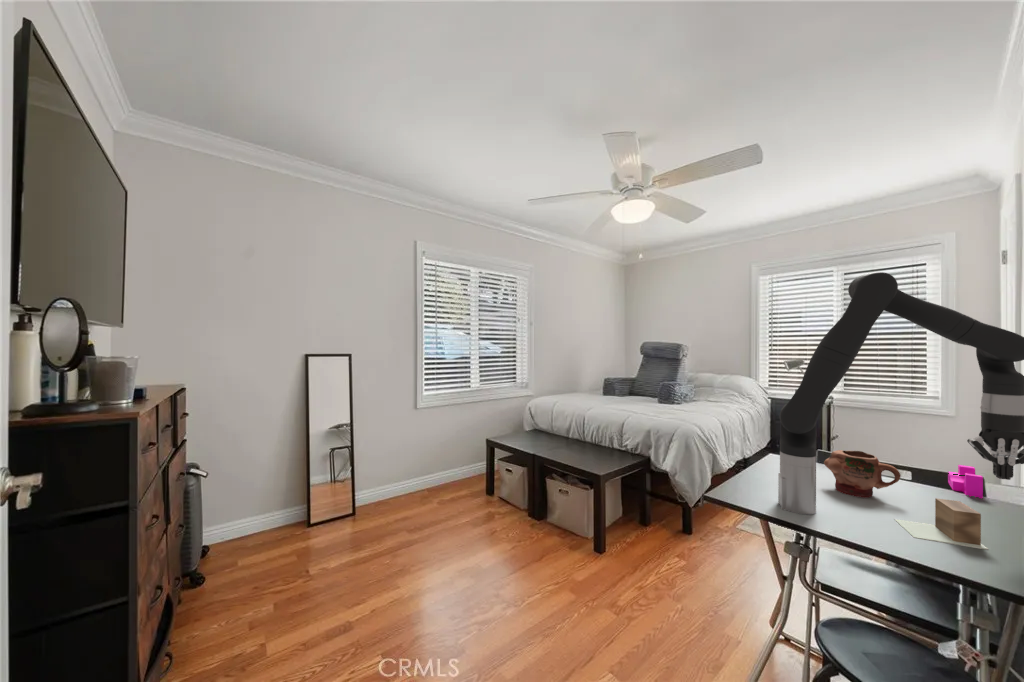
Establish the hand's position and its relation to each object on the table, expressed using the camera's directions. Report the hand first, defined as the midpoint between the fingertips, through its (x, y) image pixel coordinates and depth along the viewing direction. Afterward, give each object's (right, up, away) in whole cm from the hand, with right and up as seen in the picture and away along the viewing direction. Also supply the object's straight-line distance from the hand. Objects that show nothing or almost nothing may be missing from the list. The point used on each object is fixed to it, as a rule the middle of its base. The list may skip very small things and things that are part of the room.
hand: (1003, 478), depth 104 cm
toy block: (+33, -18, +38) cm, 53 cm away
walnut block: (-8, -17, +4) cm, 19 cm away
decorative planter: (-8, -17, +34) cm, 39 cm away
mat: (-11, -17, +5) cm, 21 cm away
